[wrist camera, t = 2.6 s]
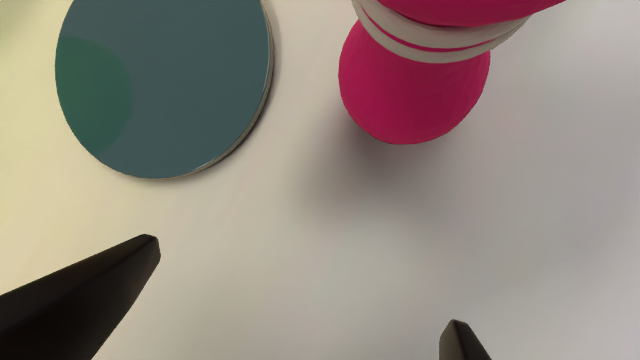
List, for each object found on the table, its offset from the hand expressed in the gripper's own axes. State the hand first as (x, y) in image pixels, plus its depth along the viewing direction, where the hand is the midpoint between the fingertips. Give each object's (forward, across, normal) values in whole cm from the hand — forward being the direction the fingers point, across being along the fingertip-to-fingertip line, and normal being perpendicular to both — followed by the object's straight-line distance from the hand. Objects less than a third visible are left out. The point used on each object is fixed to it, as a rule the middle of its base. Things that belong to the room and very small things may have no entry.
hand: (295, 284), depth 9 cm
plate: (+15, +14, -1) cm, 21 cm away
